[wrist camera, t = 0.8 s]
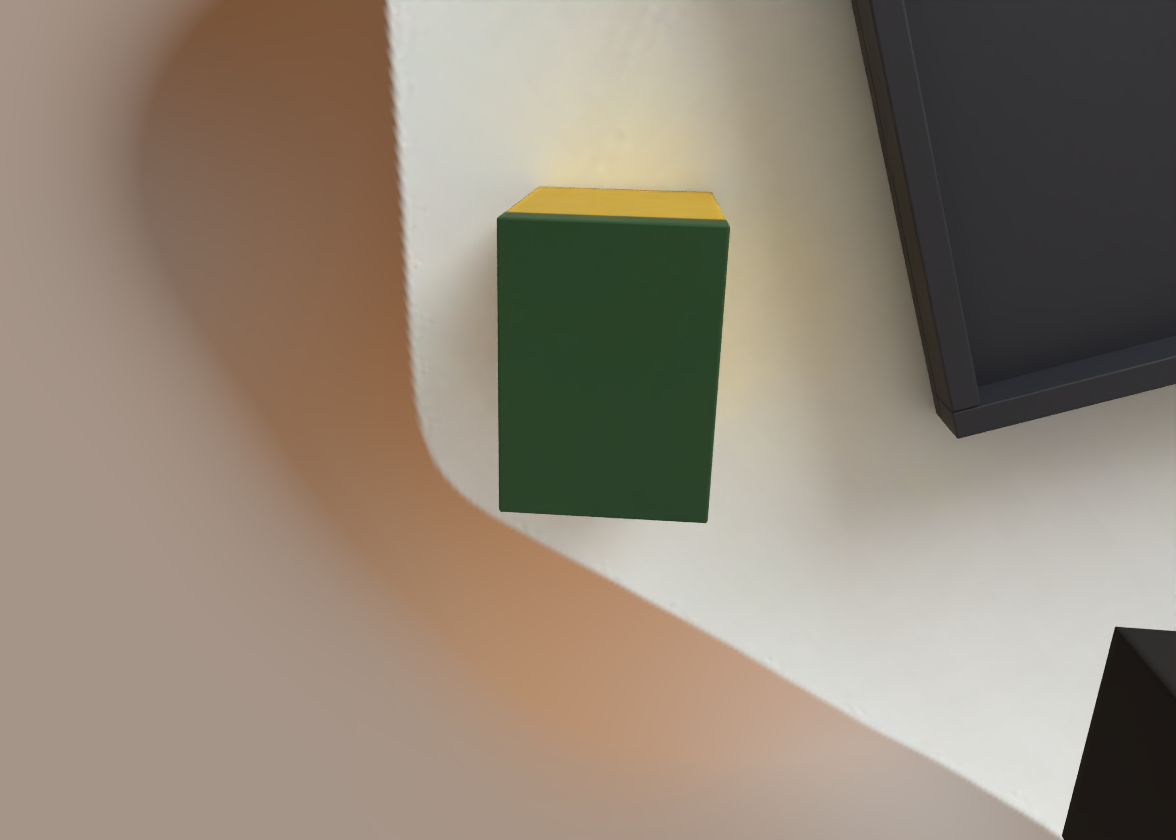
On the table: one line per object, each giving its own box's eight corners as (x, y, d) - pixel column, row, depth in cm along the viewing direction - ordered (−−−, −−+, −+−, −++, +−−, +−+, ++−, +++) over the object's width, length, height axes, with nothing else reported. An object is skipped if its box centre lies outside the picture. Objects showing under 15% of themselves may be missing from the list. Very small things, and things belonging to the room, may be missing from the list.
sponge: (537, 186, 26) (496, 216, 20) (712, 192, 26) (730, 225, 19) (536, 416, 29) (499, 512, 22) (697, 424, 28) (707, 524, 22)
